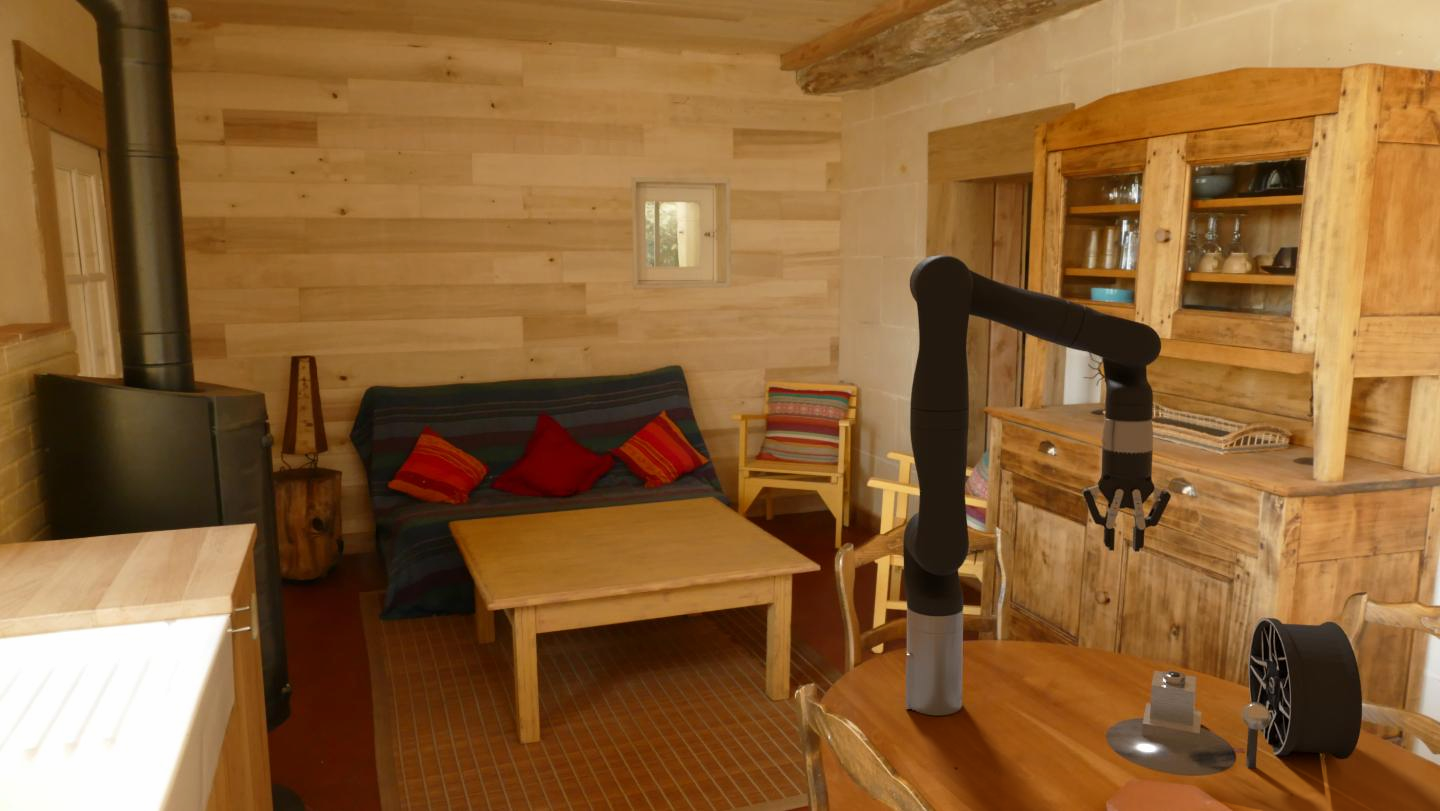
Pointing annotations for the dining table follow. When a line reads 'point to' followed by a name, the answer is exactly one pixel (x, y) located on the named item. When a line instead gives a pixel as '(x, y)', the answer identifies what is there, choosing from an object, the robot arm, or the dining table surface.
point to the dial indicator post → (1254, 728)
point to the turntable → (1171, 750)
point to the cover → (1172, 709)
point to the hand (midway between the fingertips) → (1123, 549)
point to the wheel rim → (1306, 687)
